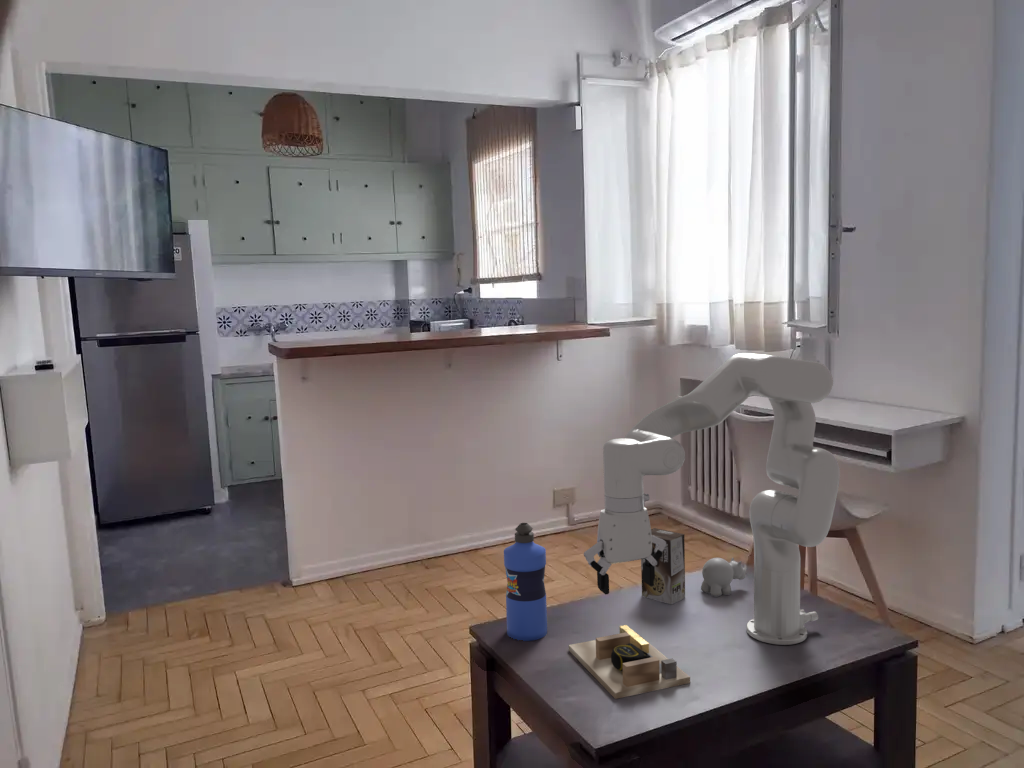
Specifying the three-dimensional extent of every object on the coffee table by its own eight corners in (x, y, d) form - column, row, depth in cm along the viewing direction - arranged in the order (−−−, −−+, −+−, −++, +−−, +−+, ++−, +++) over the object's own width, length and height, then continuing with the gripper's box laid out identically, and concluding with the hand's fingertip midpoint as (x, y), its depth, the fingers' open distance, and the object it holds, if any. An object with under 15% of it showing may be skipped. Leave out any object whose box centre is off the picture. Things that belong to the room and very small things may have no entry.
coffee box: (686, 597, 196) (686, 533, 194) (671, 605, 192) (671, 540, 190) (655, 588, 203) (654, 526, 201) (640, 596, 198) (639, 533, 196)
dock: (636, 637, 175) (635, 614, 174) (690, 682, 154) (690, 657, 153) (568, 650, 170) (568, 626, 169) (615, 699, 149) (614, 672, 148)
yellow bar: (626, 633, 173) (626, 624, 172) (648, 652, 163) (648, 643, 163) (619, 634, 172) (619, 626, 172) (641, 654, 163) (641, 644, 162)
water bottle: (535, 620, 185) (532, 515, 183) (555, 635, 177) (552, 525, 174) (499, 629, 181) (495, 522, 178) (518, 644, 173) (514, 532, 170)
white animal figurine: (756, 592, 198) (756, 557, 197) (713, 600, 194) (713, 565, 193) (737, 582, 205) (737, 549, 204) (696, 590, 201) (695, 556, 200)
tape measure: (653, 671, 157) (653, 653, 156) (624, 679, 154) (623, 661, 153) (633, 657, 163) (633, 640, 162) (604, 665, 160) (604, 647, 159)
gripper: (654, 492, 161) (656, 574, 163) (575, 504, 155) (578, 588, 157) (673, 501, 154) (675, 587, 156) (591, 513, 148) (594, 602, 150)
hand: (626, 587), depth 157 cm, fingers open, 9 cm apart
